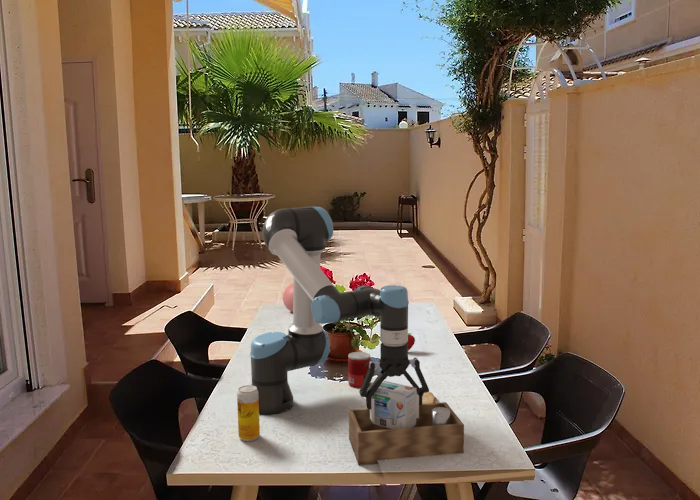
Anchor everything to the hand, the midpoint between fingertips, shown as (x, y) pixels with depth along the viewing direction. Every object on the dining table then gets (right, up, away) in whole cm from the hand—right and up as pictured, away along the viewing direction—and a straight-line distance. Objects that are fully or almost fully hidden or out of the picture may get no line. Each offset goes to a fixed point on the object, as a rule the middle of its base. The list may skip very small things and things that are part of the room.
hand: (394, 418), depth 178 cm
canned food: (-9, -1, +50) cm, 51 cm away
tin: (+13, -7, +3) cm, 16 cm away
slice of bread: (+8, -5, +32) cm, 33 cm away
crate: (+3, -9, +2) cm, 9 cm away
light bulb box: (0, -2, 0) cm, 2 cm away
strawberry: (+11, +4, +85) cm, 86 cm away
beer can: (-42, -8, +9) cm, 43 cm away
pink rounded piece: (-37, +14, +153) cm, 158 cm away
